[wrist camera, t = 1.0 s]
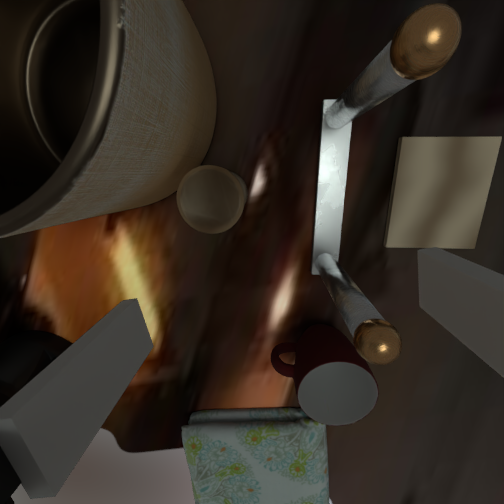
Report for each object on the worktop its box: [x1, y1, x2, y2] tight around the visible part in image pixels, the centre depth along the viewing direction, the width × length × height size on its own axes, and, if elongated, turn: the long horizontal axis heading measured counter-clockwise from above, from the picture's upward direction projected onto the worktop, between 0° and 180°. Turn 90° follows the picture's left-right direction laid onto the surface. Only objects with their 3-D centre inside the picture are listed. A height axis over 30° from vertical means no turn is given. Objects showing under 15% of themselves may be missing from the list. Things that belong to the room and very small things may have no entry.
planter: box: [0, 0, 217, 238], centre depth 20 cm, size 22×22×20 cm
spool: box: [177, 165, 248, 234], centre depth 27 cm, size 6×6×9 cm
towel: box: [182, 407, 329, 504], centre depth 40 cm, size 18×21×5 cm
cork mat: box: [383, 137, 502, 249], centre depth 30 cm, size 10×12×1 cm
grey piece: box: [310, 3, 461, 365], centre depth 22 cm, size 3×19×18 cm, turn 0°
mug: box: [271, 324, 379, 426], centre depth 31 cm, size 10×8×10 cm
